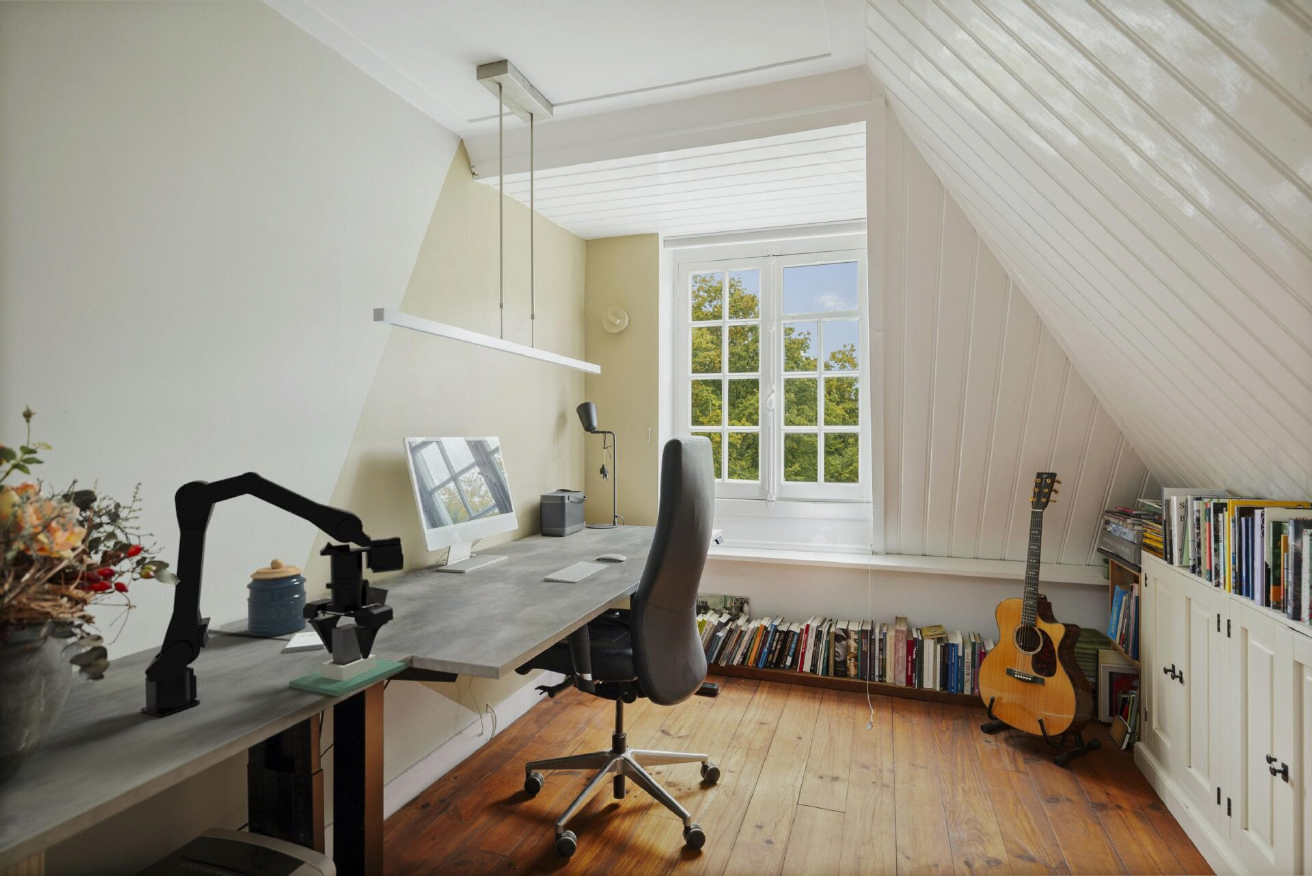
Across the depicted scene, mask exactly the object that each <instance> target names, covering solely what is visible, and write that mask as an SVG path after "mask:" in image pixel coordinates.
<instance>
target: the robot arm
mask: <svg viewBox="0 0 1312 876" xmlns="http://www.w3.org/2000/svg"><path fill="white" fill-rule="evenodd" d="M245 495H251V496H252V497H255V498H257V499H259V500H261V501H264V502H266V503H268V504H270V505H272V506H275V507H277V508H278V509H282V510H283V511H285V512H287V513H290V514H293V515H294V516H297V517H299V518H301V519H303V520H305V521H307V522H309V523H311V524H312V525H314V526H315V527H317V528H318V529H319V530H321V531H322V532H323V533H325V534H326V535H328V536H329V537H331V538H333V539H334V540H336V541H337V542H339V543H341V544H332V543H331V542H330V541H327V542H326V544H325V545H324V546H323V547H322V548H321V549H320V550H319V554H320V556H321V557H326V556H330V561H329V562H330V582H326V583H325V590H326V589H327V590H330V596H331V598H327V597H326V598H322V599H318V600H313V601H310V602H306V605H305V607H304V608H303V618H306V619H307V624H310V625H311V626H312V628H313V629H314V632H315V631H316V632H317V634H318V635H319V637H320V639H321V640H322V642H323V644H324V646H325V650H327V653H328V654H329V655H333V648H332V629H333V628H336V627H338V623H339V622H340V620H341V617H346V618H354V623H356V624H357V625H358V626H355V627H354V629H355V633H356V637H357V641H358V645H359V649H360V653H361V655H362V658H363V659H367V658H368V657H369V655H370V654H371V652H372V648H373V645H374V642H375V640H376V637H377V635H378V632H379V630H380V629H381V628H382V627H383V626H385V625H387V624H388V623H389V621H393V620H394V609H393V607H392V606H391V605H389V604H388V605H387V604H386V600H387V598H388V592H389V589H385V588H379V587H374V586H370V581H369V580H368V579H367V578H364V577H363V576H364V574H363V573H364V572H363V571H364V570H363V569H364V568H363V566H364V565H363V553H365V557H364V558H365V569H367V570H368V569H370V571H371V572H372V574H379V573H390V572H399V571H403V569H404V561H405V560H404V557H405V556H404V553H403V549H402V548H403V547H402V539H401V537H400V536H391V537H387V538H378V539H377V538H376V539H372V537H371V536H370V534H366V533H365V532H364V530H363V529H364V528H363V527H364V525H363V522H362V519H361V518H360V517H359V516H358V515H357V514H356V513H354V512H352V511H349V510H345V509H342V508H340V507H336V506H335V507H334V506H331V505H326V504H323V503H320V502H317V501H315V500H313V499H310V498H308V497H306V496H304V495H302V494H300V493H297V492H295V491H293V490H291V489H289V488H287V487H285V486H282V485H280V484H278V483H276V482H274V481H272V480H270V479H268V478H265V477H263V476H261V475H260V473H258V472H255V471H247V472H244V473H242V474H239V475H236V476H231V477H226V478H223V479H219V480H215V481H212V482H209V481H207V480H201V479H198V480H192V481H190V482H187V483H184V484H182V485H181V486H180V487H178V489H177V490H176V492H175V494H174V508H175V513H176V515H175V516H176V520H177V524H178V525H177V526H178V529H179V544H178V553H177V554H178V555H177V564H176V576H177V577H178V578H179V580H180V582H179V583H178V584H177V585H176V584H175V587H174V596H173V610H172V614H171V617H170V620H169V623H168V626H167V629H166V632H165V635H164V639H163V641H162V645H161V647H160V651H159V652H158V653H157V654H156V655H155V656H154V657H153V658H152V660H151V661H150V663H149V664H148V666H147V667H146V669H145V671H144V673H145V676H146V677H145V679H144V681H145V706H143V707H141V708H140V712H142V713H145V714H148V715H153V716H157V717H160V718H161V717H165V716H169V715H171V714H174V713H177V712H180V711H182V710H186V709H189V708H191V707H194V706H197V705H199V704H201V700H200V699H197V698H198V688H197V687H198V683H197V681H198V680H197V677H198V676H197V675H196V674H195V668H194V667H190V666H189V665H190V664H192V663H194V662H195V661H196V659H198V657H199V656H200V653H201V652H202V649H205V648H206V646H207V645H208V642H209V639H210V636H209V634H208V633H209V632H208V628H209V625H210V622H211V617H210V616H208V617H203V618H202V613H201V606H200V605H201V597H202V595H201V594H202V585H203V584H202V583H203V574H204V573H203V571H204V562H205V561H204V560H205V559H204V558H205V551H206V538H207V531H208V528H209V525H210V522H211V519H212V516H213V512H214V509H215V506H216V503H220V502H223V501H228V500H231V499H234V498H237V497H241V496H245ZM349 543H353V544H355V545H356V546H359V547H353V548H351V546H350V544H349ZM176 576H175V577H176Z"/></svg>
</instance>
